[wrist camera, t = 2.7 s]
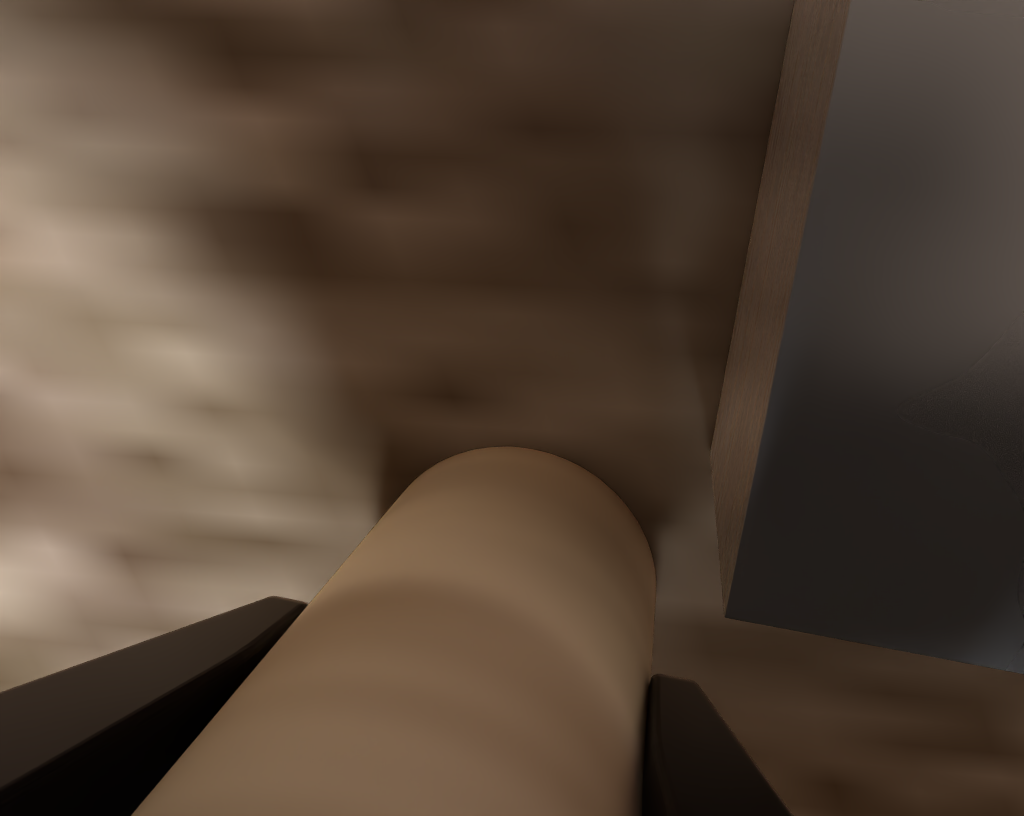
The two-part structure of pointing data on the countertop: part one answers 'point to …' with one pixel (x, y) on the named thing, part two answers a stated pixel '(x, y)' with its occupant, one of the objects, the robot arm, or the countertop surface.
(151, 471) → the countertop surface
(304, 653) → the dowel
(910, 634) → the block
